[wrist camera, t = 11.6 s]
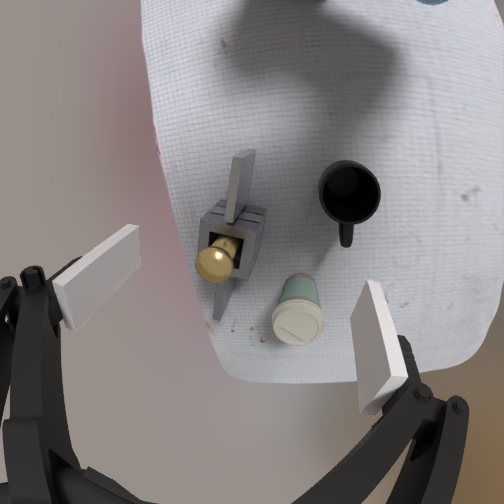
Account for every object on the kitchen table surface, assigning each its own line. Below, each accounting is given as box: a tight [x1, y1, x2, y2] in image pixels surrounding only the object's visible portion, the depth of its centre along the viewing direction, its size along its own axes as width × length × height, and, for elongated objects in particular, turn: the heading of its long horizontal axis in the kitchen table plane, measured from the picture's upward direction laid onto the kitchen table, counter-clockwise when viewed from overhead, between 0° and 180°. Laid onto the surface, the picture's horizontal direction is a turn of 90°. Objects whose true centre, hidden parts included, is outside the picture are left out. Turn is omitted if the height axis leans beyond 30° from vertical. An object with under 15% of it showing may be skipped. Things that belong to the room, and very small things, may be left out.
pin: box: [195, 234, 243, 283], centre depth 42 cm, size 5×5×15 cm
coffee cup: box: [271, 273, 325, 346], centre depth 47 cm, size 8×8×12 cm
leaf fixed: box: [198, 200, 267, 321], centre depth 46 cm, size 17×8×10 cm, turn 171°
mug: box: [319, 160, 381, 248], centre depth 38 cm, size 8×12×10 cm
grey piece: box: [209, 149, 264, 267], centre depth 42 cm, size 17×8×10 cm, turn 171°
